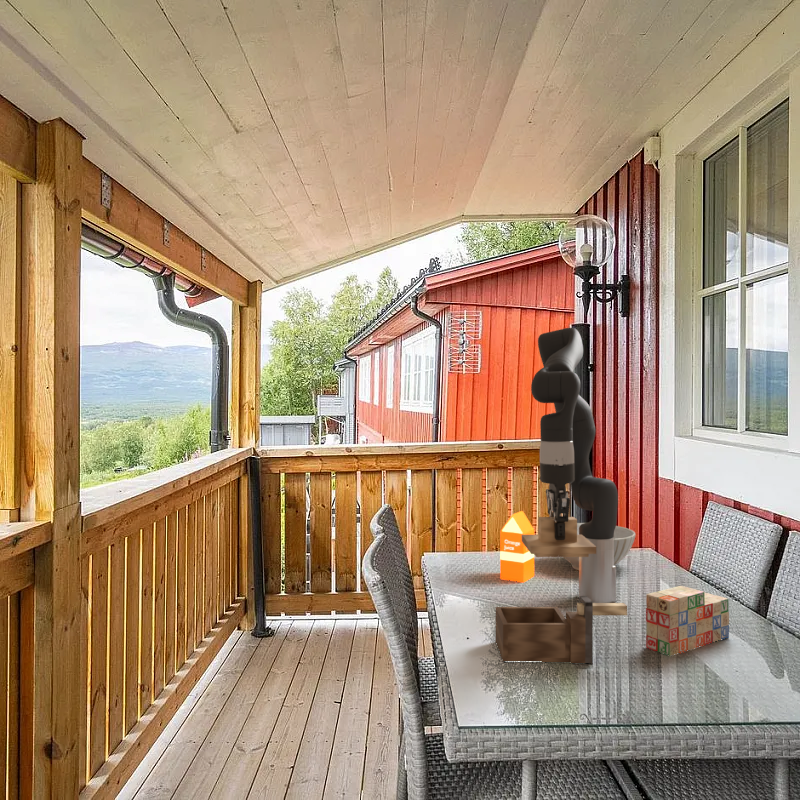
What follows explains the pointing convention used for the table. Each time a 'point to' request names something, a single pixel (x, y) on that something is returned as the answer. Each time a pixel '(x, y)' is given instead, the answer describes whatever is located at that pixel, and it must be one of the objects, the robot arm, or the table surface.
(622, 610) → the light wooden plank
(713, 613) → the stack of blocks
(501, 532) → the orange juice
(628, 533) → the decorative bowl
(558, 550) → the lid
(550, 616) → the brown wooden box
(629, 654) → the table surface
